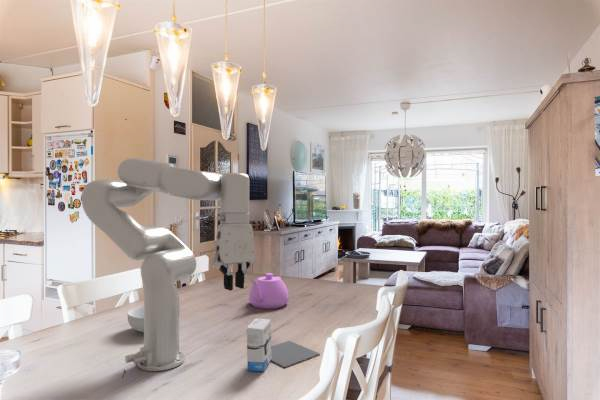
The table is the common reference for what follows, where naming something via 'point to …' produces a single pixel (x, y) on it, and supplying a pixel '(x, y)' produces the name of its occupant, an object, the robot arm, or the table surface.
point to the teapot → (268, 292)
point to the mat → (290, 353)
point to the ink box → (259, 344)
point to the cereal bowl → (136, 318)
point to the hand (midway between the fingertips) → (234, 287)
